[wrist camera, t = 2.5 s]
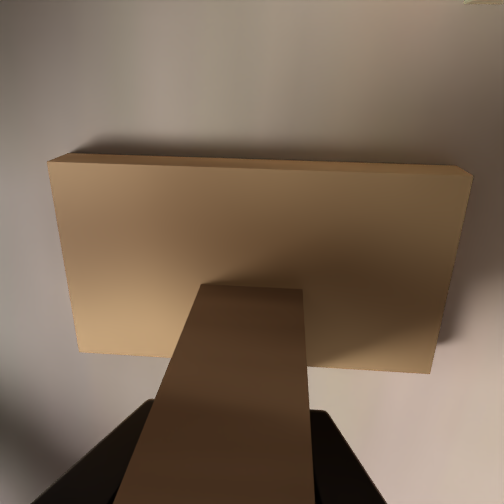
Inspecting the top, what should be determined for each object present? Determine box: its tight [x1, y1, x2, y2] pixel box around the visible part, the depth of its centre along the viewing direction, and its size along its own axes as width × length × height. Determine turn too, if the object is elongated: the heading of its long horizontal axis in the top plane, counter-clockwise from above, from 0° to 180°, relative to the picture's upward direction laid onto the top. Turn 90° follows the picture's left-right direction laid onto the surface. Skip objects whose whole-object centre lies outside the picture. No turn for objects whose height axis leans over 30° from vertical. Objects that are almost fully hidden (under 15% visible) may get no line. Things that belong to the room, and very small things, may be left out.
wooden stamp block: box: [47, 153, 474, 504], centre depth 7 cm, size 5×9×9 cm, turn 89°
